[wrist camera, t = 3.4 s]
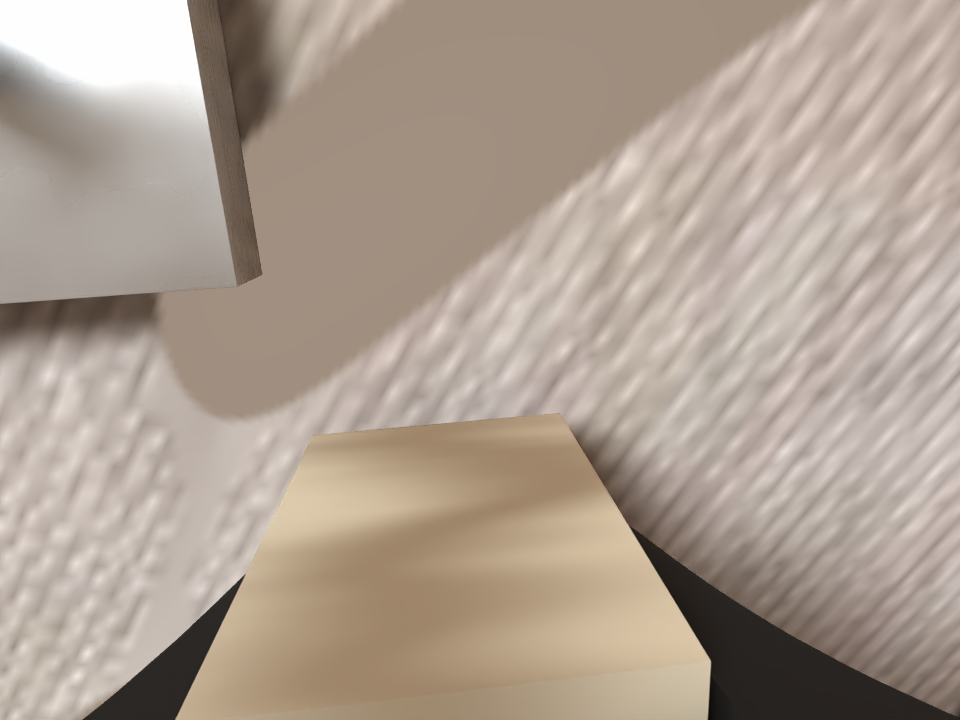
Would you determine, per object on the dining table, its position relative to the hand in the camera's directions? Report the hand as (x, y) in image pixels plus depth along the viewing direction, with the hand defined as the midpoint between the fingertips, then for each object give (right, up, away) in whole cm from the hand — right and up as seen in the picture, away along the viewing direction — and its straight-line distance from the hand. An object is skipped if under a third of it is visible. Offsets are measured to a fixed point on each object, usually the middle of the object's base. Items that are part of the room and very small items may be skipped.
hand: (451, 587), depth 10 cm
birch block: (0, 0, +2) cm, 2 cm away
